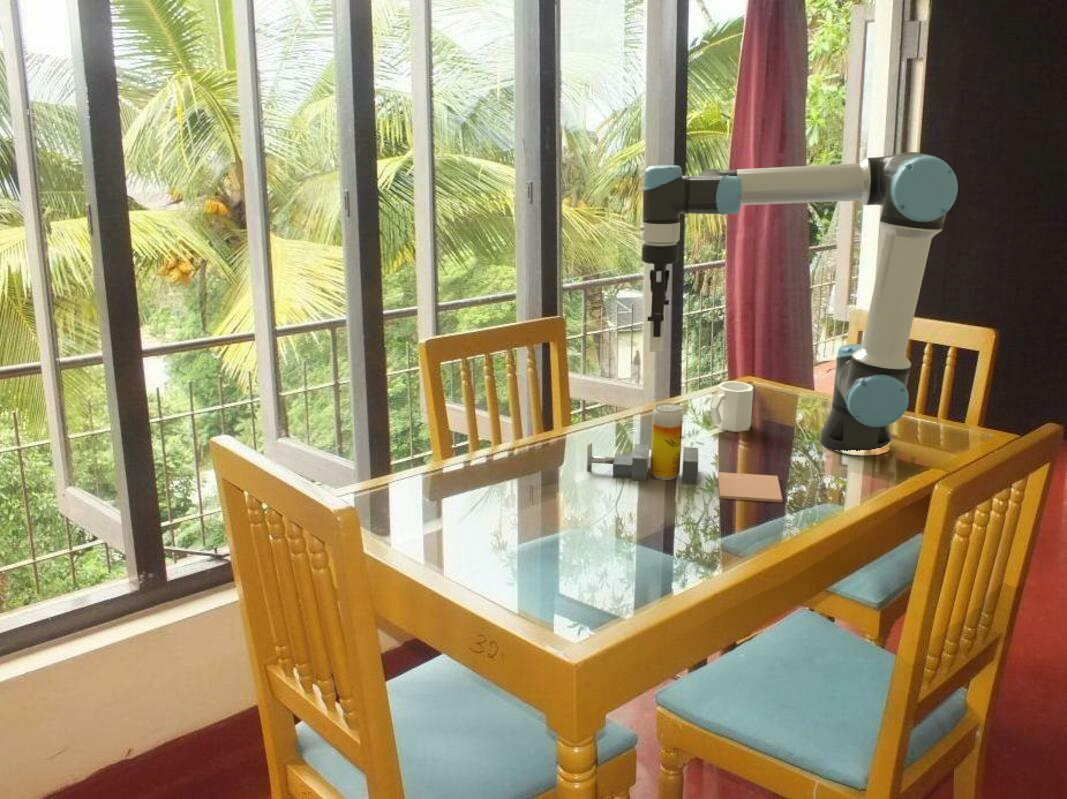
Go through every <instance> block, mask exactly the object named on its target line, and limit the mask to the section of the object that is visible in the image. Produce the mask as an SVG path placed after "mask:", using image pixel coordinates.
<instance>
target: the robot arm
mask: <svg viewBox="0 0 1067 799" xmlns="http://www.w3.org/2000/svg"><path fill="white" fill-rule="evenodd" d="M643 177H644V178H643V190H642V202H643V203H642V226H641V225H640V226H639V231H640V232H642V241H643V242H644V243H643V244H642V245H641V260H642V262H643V263H645V264H649V265H650V264H652V265H653V269H650V272H649V281H650V288H649V289H650V292H651V306H650V307H651V308H650V310H651V311H650V316H647V317H646V318H647V320H646V321H647V322H650V327H649V329H650V330H649V331H650V333H649V352H650V353H651V352H652V353H653V352H654V353H663V352H664V338H665V336H666V317H667V316H666V312H667V311H666V310H667V306H669V304H670V300H669V299H667V292H668V286H669V281H670V269H667V266H668V265H672V264H676V263H678V261H679V258H680V257H679V254H680V253H679V252H680V246H679V244H678V242H679V241H680V237H681V236H680V234H681V218H680V217H681V214H683V215H689V214H694V215H695V214H696V215H721V216H724V215H736V214H738V213H740V210H741V206H753V205H757V206H758V205H780V204H781V205H783V204H806V203H807V204H808V203H830V202H831V203H832V202H833V203H834V202H855V201H856V202H858V201H859V202H860V203H861V204H862V205H863V206H882V210H881V214H880V218H879V223H880V225H881V227H883V230H884V231H885V233H884V234H885V235H884V239H883V244H882V249H881V253H880V256H879V257H880V258H879V263H878V266H877V272H876V277H875V282H874V286H873V292H872V295H871V299H870V300H871V302H870V304H869V311H868V315H867V320H866V324H865V329H864V334H863V339H862V344H860V343H859V344H857V343H856V344H854V343H853V344H852V343H851V344H844V345H841V346H840V347H839V348H838V350H837V351H838V352H837V355H836V357H835V360H836V363H835V364H836V365H835V373H834V374H835V375H834V384H833V385H834V386H833V392H832V393H833V394H832V396H833V397H832V402H831V403H832V404H831V410H830V412H829V413H828V417H827V418H826V421H824V422H825V423H824V424H823V427H822V429H821V432H820V439H819V441H820V444H821V445H822V446H823V447H825V448H826V449H829V450H830V449H832V450H831V451H833V450H838V451H840V450H844V451H845V450H846V451H848V450H849V451H850V450H856V451H858V450H859V451H860V450H871V449H876V448H881V447H883V446H885V445H887V444H888V443H889V442H890V441H891V442H892V435H891V432H890V427H889V425H892V424H893V423H896V422H897V421H898V420H900V419H901V418H903V416H904V414H905V413H906V411H907V409H908V406H909V399H910V398H909V391H908V389H907V386H908V385H907V384H908V380H909V377H910V373H911V372H910V371H911V367H912V362H911V361H910V360H909V359H908V357H907V355H906V352H907V348H908V344H909V339H910V336H911V331H912V326H913V321H914V318H915V313H916V311H917V310H916V309H917V304H918V300H919V296H920V291H921V287H922V283H923V278H924V273H925V270H926V264H927V261H928V257H929V253H930V252H929V251H930V247H931V243H932V239H933V238H934V237H935V236H936V235H937V234H939V233H940V232H942V231H943V228H944V224H945V220H946V215H947V213H948V211H950V209H952V206H953V205H954V203H955V201H956V199H957V195H958V189H959V185H958V179H957V176H956V174H955V172H954V170H953V169H952V167H951V166H950V165H949V164H948V163H947V162H946V161H944V160H943V159H941V158H939V157H937V156H935V155H930V154H925V153H921V152H915V151H914V152H913V151H909V152H904V153H903V152H901V153H898V154H897V153H896V154H891V155H886V156H877V157H876V156H875V157H865V158H864V159H863V160H862V161H861V162H859V163H839V164H821V165H803V166H802V165H801V166H797V165H796V166H781V167H777V166H776V167H761V168H759V167H758V168H742V169H741V168H740V169H739V168H738V169H721V170H719V169H717V168H713V169H706V170H704V171H702V172H701V173H700V174H698V175H691V176H690V175H685V174H684V175H683V171H682V167H681V166H680V165H676V164H675V165H674V164H673V165H672V164H671V165H669V164H658V165H657V164H656V165H655V164H654V165H650V166H647V168H646V169H644V176H643Z"/></svg>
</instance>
